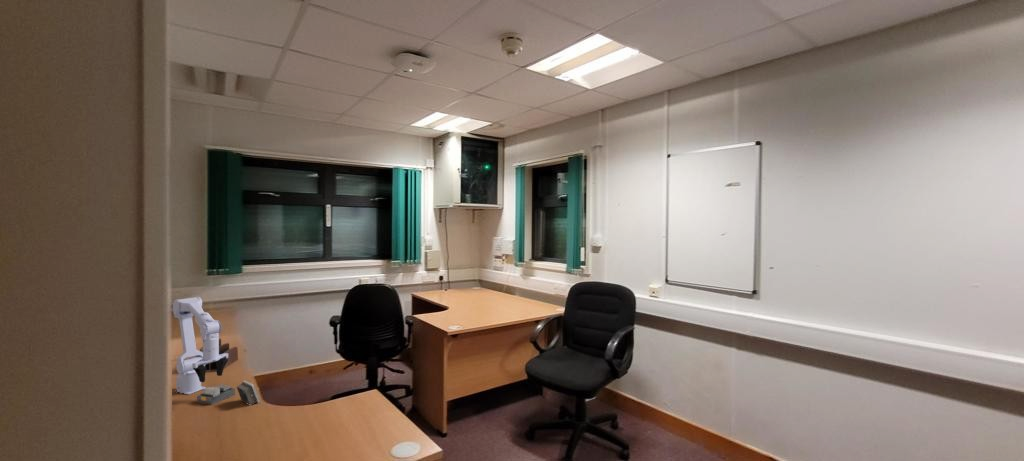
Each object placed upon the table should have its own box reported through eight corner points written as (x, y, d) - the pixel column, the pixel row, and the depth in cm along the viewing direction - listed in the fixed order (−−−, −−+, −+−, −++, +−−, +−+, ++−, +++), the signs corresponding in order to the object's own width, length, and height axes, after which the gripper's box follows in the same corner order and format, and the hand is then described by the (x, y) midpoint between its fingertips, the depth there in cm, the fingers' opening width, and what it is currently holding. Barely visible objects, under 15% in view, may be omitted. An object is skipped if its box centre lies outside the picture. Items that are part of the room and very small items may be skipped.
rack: (196, 402, 176) (196, 392, 176) (221, 392, 186) (220, 383, 186) (211, 404, 173) (210, 394, 173) (235, 394, 184) (234, 385, 184)
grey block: (203, 400, 177) (203, 389, 177) (210, 397, 180) (209, 386, 180) (213, 401, 175) (212, 390, 175) (219, 398, 178) (219, 387, 178)
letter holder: (198, 373, 212) (198, 346, 211) (219, 360, 231) (219, 336, 231) (219, 371, 213) (219, 345, 213) (238, 359, 233) (238, 335, 233)
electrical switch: (260, 402, 176) (258, 382, 175) (247, 408, 171) (245, 387, 171) (250, 397, 181) (247, 378, 180) (237, 403, 176) (235, 383, 176)
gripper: (200, 354, 170) (200, 385, 170) (233, 344, 184) (233, 373, 184) (188, 352, 172) (188, 383, 172) (221, 343, 186) (221, 372, 186)
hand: (211, 378), depth 178 cm, fingers open, 7 cm apart
